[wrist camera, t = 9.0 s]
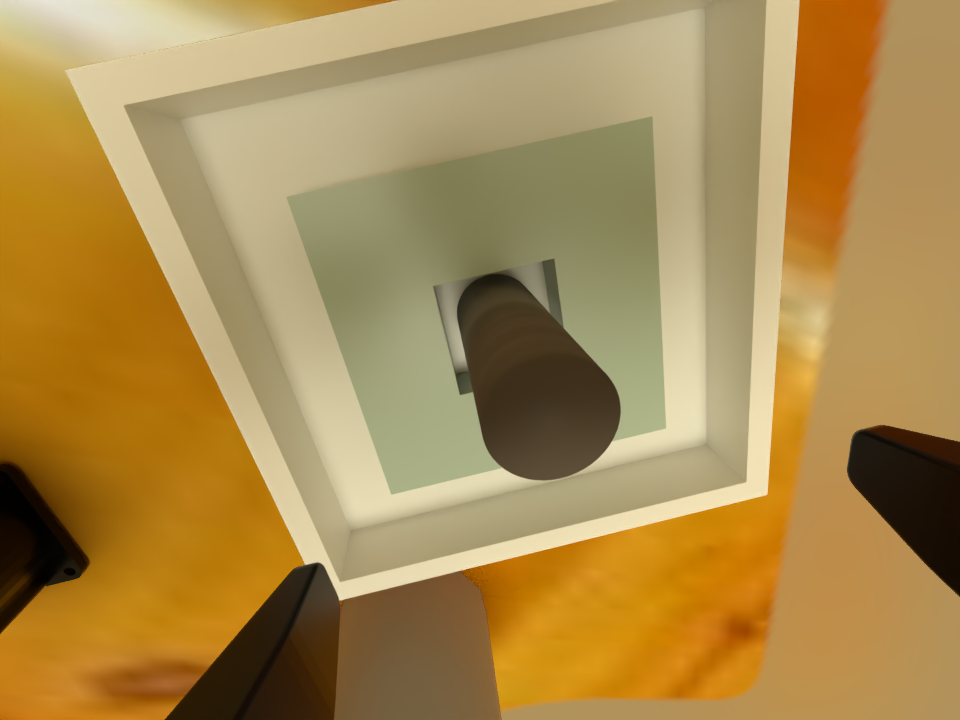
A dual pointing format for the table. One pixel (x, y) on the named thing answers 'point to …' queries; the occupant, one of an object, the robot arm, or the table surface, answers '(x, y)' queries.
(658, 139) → the tray
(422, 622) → the cup
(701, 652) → the table surface
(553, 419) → the peg
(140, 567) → the table surface
